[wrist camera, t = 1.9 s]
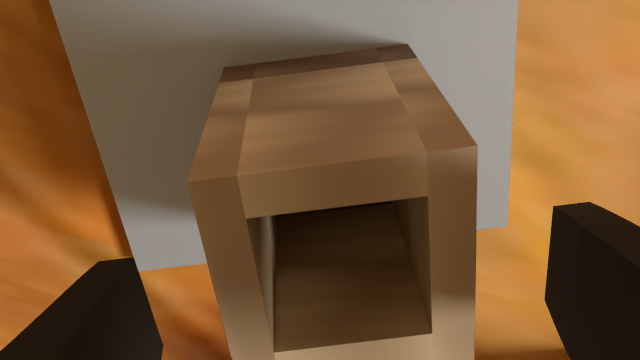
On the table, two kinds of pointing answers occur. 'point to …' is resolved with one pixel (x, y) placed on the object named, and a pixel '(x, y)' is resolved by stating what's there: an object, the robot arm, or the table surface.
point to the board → (257, 47)
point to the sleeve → (339, 210)
